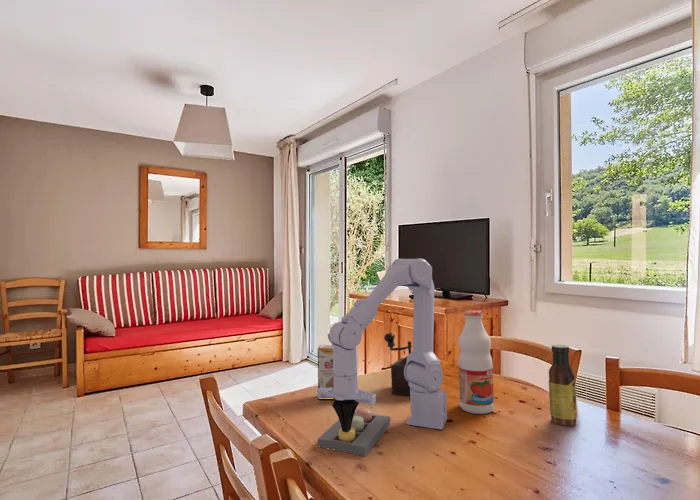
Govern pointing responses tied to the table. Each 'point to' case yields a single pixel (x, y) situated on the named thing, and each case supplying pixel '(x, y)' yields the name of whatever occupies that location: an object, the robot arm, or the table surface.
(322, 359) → the candy bar box
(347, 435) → the mustard button
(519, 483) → the table surface
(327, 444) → the panel
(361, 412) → the terracotta button
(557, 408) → the sauce bottle
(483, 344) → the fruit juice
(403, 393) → the dark brown coffee grinder
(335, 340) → the robot arm
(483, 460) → the table surface
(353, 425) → the sage button
